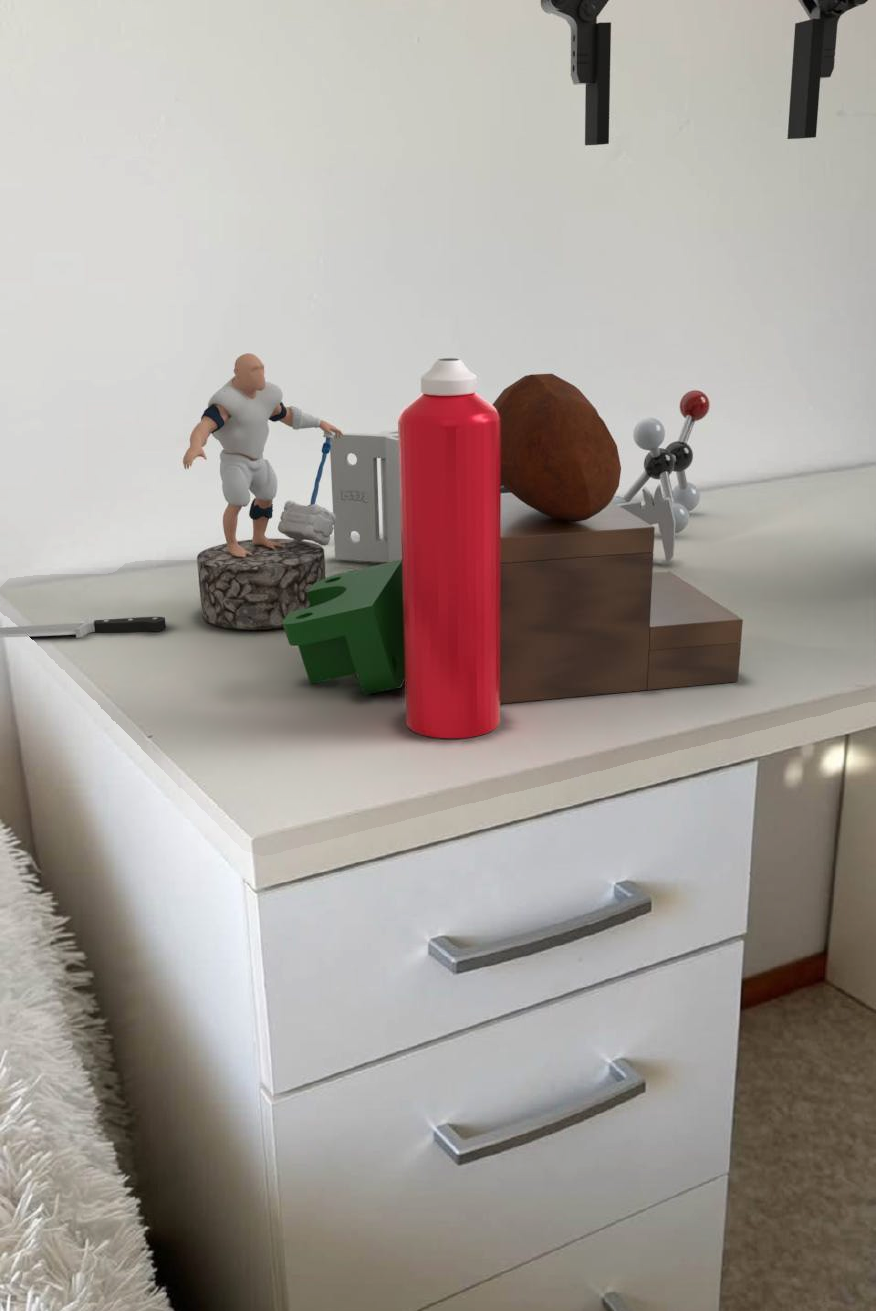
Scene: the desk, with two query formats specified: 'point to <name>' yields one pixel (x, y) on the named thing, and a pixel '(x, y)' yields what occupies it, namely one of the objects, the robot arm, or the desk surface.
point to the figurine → (258, 508)
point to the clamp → (353, 628)
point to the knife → (87, 627)
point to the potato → (556, 449)
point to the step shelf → (601, 611)
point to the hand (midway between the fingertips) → (700, 141)
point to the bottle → (451, 554)
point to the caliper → (656, 516)
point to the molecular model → (670, 458)
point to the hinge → (366, 496)
